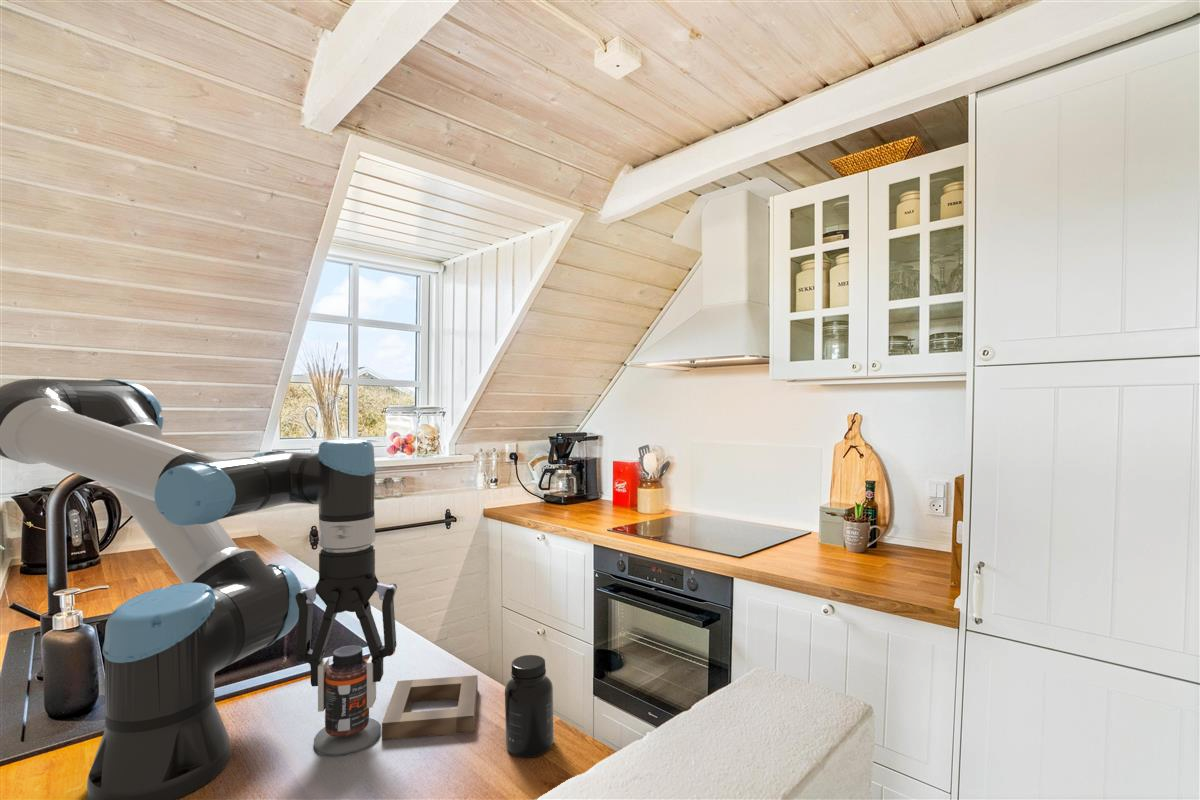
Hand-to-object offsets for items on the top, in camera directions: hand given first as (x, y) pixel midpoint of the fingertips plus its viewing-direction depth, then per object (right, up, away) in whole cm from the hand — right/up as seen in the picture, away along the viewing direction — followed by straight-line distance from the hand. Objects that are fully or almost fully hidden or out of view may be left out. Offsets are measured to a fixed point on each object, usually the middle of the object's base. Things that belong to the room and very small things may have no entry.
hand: (347, 704), depth 88 cm
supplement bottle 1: (0, -4, 0) cm, 4 cm away
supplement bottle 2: (+27, -5, -2) cm, 27 cm away
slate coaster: (0, -5, 0) cm, 5 cm away
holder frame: (+11, -5, +7) cm, 14 cm away
